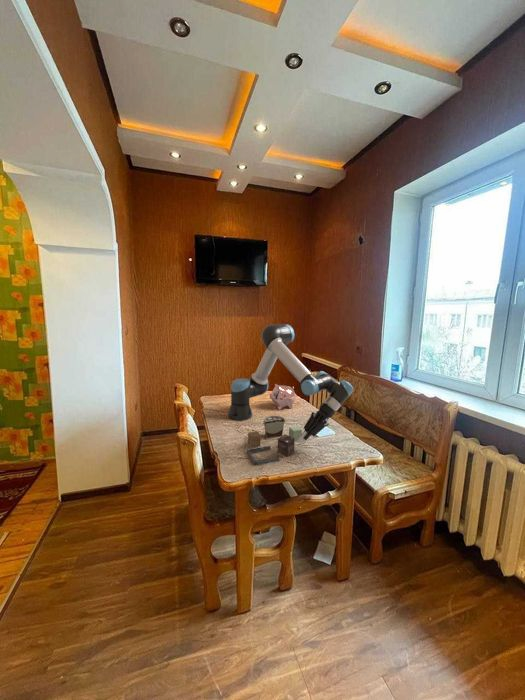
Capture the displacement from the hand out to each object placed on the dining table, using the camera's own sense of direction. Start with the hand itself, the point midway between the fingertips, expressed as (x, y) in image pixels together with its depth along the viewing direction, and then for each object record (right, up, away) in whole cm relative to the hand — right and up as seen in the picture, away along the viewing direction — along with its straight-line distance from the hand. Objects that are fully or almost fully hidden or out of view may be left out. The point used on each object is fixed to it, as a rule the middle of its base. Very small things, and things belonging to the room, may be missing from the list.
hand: (298, 443), depth 135 cm
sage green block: (0, -2, +12) cm, 12 cm away
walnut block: (-22, -2, +5) cm, 23 cm away
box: (-7, -4, -2) cm, 8 cm away
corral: (-18, -4, -6) cm, 19 cm away
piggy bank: (-4, +6, +60) cm, 60 cm away
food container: (-13, -1, +16) cm, 20 cm away
